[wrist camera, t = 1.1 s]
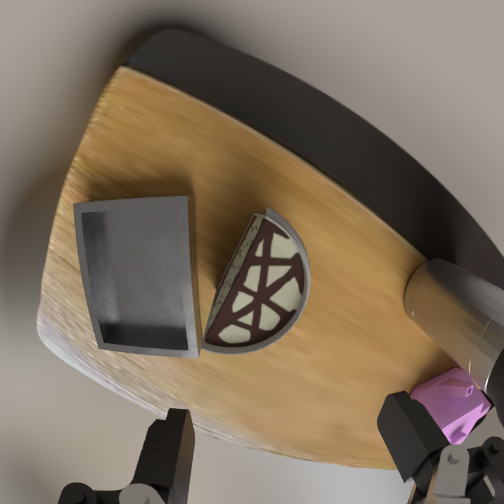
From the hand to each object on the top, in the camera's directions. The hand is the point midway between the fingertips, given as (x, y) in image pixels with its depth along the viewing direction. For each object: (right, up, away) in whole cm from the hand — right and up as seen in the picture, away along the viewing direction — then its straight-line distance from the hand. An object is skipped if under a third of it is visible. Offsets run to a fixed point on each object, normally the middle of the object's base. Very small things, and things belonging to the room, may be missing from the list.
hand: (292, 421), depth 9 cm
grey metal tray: (-14, +4, +20) cm, 24 cm away
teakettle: (+31, -21, +28) cm, 47 cm away
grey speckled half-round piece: (-1, +5, +20) cm, 21 cm away
